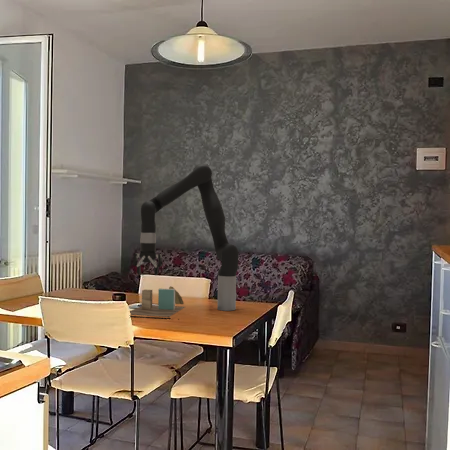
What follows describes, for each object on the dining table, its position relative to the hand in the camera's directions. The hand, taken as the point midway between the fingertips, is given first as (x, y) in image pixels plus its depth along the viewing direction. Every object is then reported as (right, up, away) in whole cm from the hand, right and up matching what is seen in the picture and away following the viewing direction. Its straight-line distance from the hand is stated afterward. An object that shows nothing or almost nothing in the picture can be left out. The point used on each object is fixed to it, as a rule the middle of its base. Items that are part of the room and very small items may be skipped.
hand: (147, 274), depth 262 cm
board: (+5, -18, -5) cm, 19 cm away
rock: (+11, -18, +16) cm, 27 cm away
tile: (+10, -17, -2) cm, 19 cm away
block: (0, -17, 0) cm, 17 cm away
